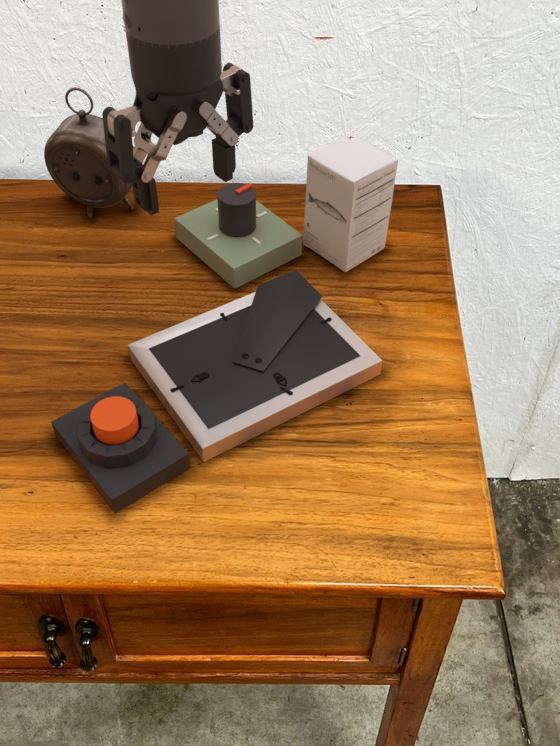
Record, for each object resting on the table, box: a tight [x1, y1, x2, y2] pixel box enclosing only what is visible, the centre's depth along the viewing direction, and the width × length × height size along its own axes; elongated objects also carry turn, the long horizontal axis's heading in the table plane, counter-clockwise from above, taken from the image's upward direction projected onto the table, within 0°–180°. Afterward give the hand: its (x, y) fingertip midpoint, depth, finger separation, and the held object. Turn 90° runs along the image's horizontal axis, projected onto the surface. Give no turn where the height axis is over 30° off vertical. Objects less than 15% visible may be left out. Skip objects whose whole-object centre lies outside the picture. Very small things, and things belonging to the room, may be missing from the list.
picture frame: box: [127, 269, 384, 463], centre depth 79 cm, size 16×3×21 cm
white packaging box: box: [302, 132, 399, 273], centre depth 89 cm, size 7×7×13 cm
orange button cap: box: [90, 396, 139, 445], centre depth 69 cm, size 4×4×2 cm
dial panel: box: [173, 199, 303, 290], centre depth 93 cm, size 12×10×3 cm
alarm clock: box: [43, 86, 135, 219], centre depth 93 cm, size 11×5×16 cm, turn 72°
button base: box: [50, 382, 191, 514], centre depth 71 cm, size 11×8×4 cm
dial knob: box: [216, 182, 257, 237], centre depth 90 cm, size 4×4×5 cm
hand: (187, 193), depth 73 cm, fingers open, 8 cm apart
